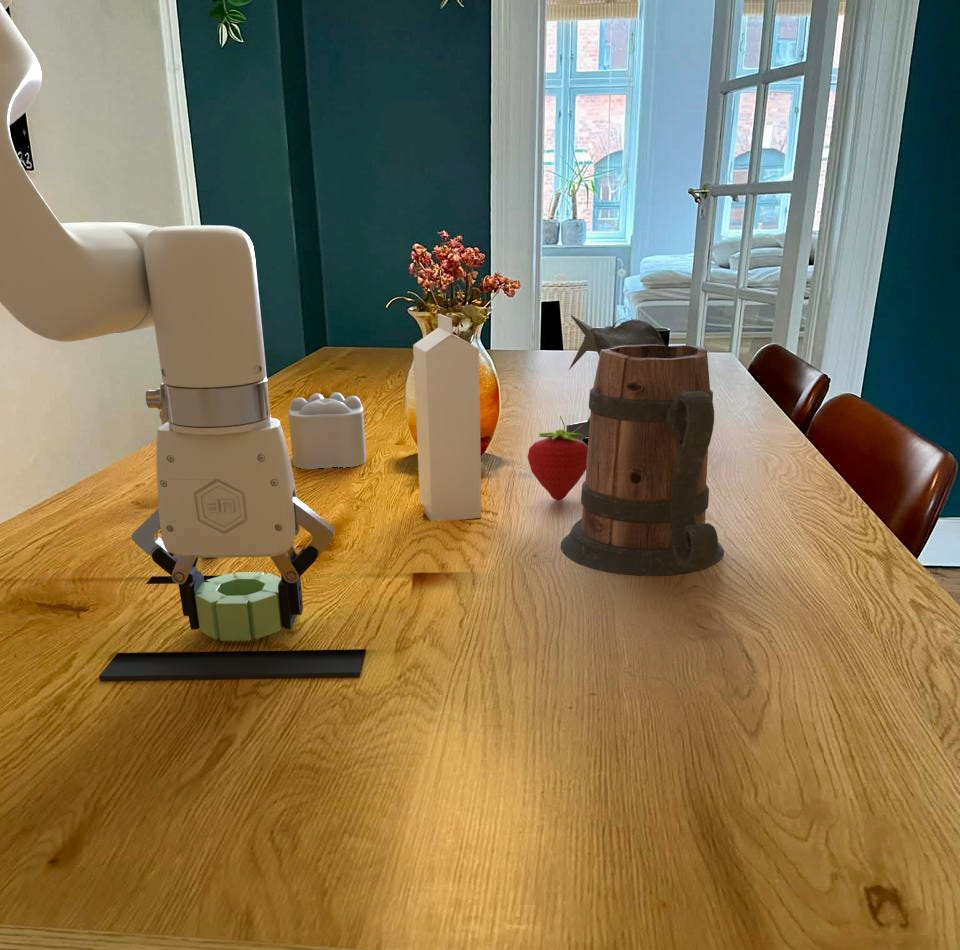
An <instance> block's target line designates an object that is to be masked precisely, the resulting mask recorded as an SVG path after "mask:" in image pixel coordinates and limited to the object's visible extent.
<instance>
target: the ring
mask: <svg viewBox="0 0 960 950" xmlns="http://www.w3.org/2000/svg"><path fill="white" fill-rule="evenodd" d="M221 575H222V576H219V577H215V578H212V579H208V580H206V582H203V583H202V585H201V586H200V587H199V589H198V590H197V592H196V595H195V598H196V606H197V613H198V620H199V627H200V628H199V631H200V632H201V633H203V634H204V635H206V636H209V637H210V638H211V639H213V640H215V641H217V640H220V641H222V642H223V641H229V642H230V641H234V642H235V641H238V642H239V641H251V640H252V638H253V639H254V640H258V639H261V638H263V637H267V636H270V635H273V634H275V633H278V632H281V631H282V629H285V628H284V627H282V620H281V611H280V601H279V592H278V584H279V582H280V580H281V577H279V576H277V575H275V574H273V573H270V572H267V573H265V572H264V571H236V572H235V573H234V574H233V573H231V572H229V573H225V574H221Z"/></svg>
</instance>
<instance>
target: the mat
mask: <svg viewBox="0 0 960 950" xmlns="http://www.w3.org/2000/svg"><path fill="white" fill-rule="evenodd" d="M366 653H367V649H366V648H357V649H355V648H354V649H351V648H350V649H289V650H287V649H286V650H285V649H284V650H279V649H278V650H217V651H216V650H215V651H214V650H211V651H210V650H209V651H151V652H150V651H149V652H148V651H145V652H144V651H143V652H139V651H138V652H117V653H116V654H115V655H114V657H112V658H111V660H110V661H109V663H108V664H107V665H106V667H105V668H104V669H103V670H102V672H101V673H100V674H99V675H98V678H99V682H101V681H103V682H104V681H165V680H166V681H167V680H168V681H169V680H170V681H171V680H172V681H173V680H176V681H177V680H232V679H233V680H238V679H241V680H242V679H243V680H244V679H301V678H302V679H307V678H309V679H311V678H318V679H319V678H360V677H361V674H362V668H363V664H364V661H365V657H366Z"/></svg>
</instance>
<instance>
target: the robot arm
mask: <svg viewBox="0 0 960 950" xmlns="http://www.w3.org/2000/svg"><path fill="white" fill-rule="evenodd" d="M12 2H13V0H0V304H1V305H2V306H3V307H4V308H5V309H6V310H7V311H8V312H9V313H10V315H11V316H12V317H14V319H15V320H17V321H18V322H19V323H20V324H21V325H22V326H24V327H25V328H27V329H28V330H29V331H31V332H32V333H34V334H36V335H38V336H40V337H42V338H45V339H48V340H50V341H51V340H52V341H56V342H63V343H65V342H67V343H68V342H69V343H70V342H77V341H78V342H79V341H83V340H90V339H95V338H98V337H103V336H107V335H112V334H113V335H114V334H122V333H127V332H132V331H137V330H141V329H142V330H143V329H147V328H152V327H154V331H155V332H154V333H155V338H156V339H155V340H156V347H157V353H158V359H159V367H160V373H161V381H162V383H160V385H159V386H160V387H156V389H146V391H145V402H146V407H147V408H149V409H157V410H158V411H162V410H163V413H164V414H165V419H168V422H167V423H165V424H163V425H162V424H161V425H159V426H158V427H157V433H156V453H155V455H156V458H155V459H156V461H155V462H156V484H157V485H156V489H157V503H158V504H157V507H158V508H157V509H156V510H155V511H154V512H153V513H151V514H150V516H148V517H147V518H146V519H145V520H144V522H142V524H140V525H139V526H138V527H136V529H135V530H134V531H133V532H132V534H131V540H132V541H133V543H135V544H136V545H137V546H138V547H139V548H140V549H141V550H142V551H143V552H145V553H146V554H147V555H149V556H150V557H151V559H152V561H153V562H154V564H156V565H157V566H158V567H160V568H161V569H162V570H163V571H164V572H166V573H167V574H169V576H171V577H172V580H173V581H174V582H175V583H176V584H175V585H178V589H179V596H180V604H181V611H182V615H183V617H188V621H189V627H190V630H193V631H194V630H197V631H198V630H200V627H199V620H198V613H197V606H196V598H195V595H196V592H197V590H198V589H199V587H200V586H201V585H202V583H203V582H204V576H205V575H204V573H202V571H201V570H199V568H198V567H197V565H198V563H199V561H200V558H201V559H203V558H215V559H217V558H220V559H221V558H270V559H271V561H272V562H273V564H274V566H275V567H276V569H277V571H279V573H280V576H281V577H280V578H281V580H280V582H279V584H278V592H279V601H280V611H281V620H282V627H284V628H283V629H285V630H292V629H293V627H294V624H295V622H296V619H297V617H298V616H302V614H303V610H304V602H303V601H304V600H303V591H302V580H301V576H302V575H303V574H305V572H306V571H307V570H308V569H310V567H311V566H312V565H313V564H314V563H315V562H316V560H317V559H318V558H319V556H320V555H322V553H323V552H324V551H325V550H326V548H327V547H328V546H329V545H330V544H331V543H332V541H333V539H334V538H335V535H336V533H337V532H336V531H337V530H336V527H334V526H333V524H331V523H329V522H328V521H327V520H325V519H324V518H323V517H322V516H320V515H319V514H318V513H316V511H314V510H313V509H312V508H310V507H309V506H308V505H306V504H305V503H304V502H302V501H301V500H300V499H299V498H298V495H297V489H296V481H295V476H294V472H293V467H292V462H291V458H290V453H289V448H288V444H287V440H286V436H285V433H284V431H283V428H282V424H281V421H280V420H279V419H278V418H275V417H272V414H271V404H270V403H271V402H270V394H269V384H268V376H267V375H268V374H267V366H266V355H265V345H264V334H263V332H264V331H263V324H262V322H263V321H262V314H261V304H260V294H259V283H258V273H257V264H256V255H255V250H254V245H253V242H252V240H251V238H250V236H249V235H248V234H247V233H246V232H245V231H244V230H243V229H241V228H238V227H235V226H231V225H216V224H215V225H214V224H213V225H212V224H198V225H197V224H195V225H194V224H193V225H192V224H191V225H189V224H188V225H169V226H168V225H167V226H162V227H161V226H156V225H150V224H145V223H139V222H130V221H129V222H128V221H107V222H106V221H105V222H104V221H103V222H100V221H77V222H76V221H75V222H60V220H59V219H58V218H57V216H56V215H55V213H54V212H53V211H52V209H51V207H50V206H49V205H48V204H47V202H46V200H45V199H44V198H43V196H42V195H41V193H40V192H39V190H38V189H37V187H36V186H35V184H34V183H33V181H32V179H31V178H30V176H29V174H28V173H27V171H26V170H25V168H24V165H23V164H22V162H21V160H20V158H19V155H18V154H17V151H16V148H15V146H14V143H13V140H12V136H11V130H10V126H11V125H12V124H14V123H15V122H16V121H17V120H18V119H20V118H21V117H22V116H23V115H24V114H25V113H26V112H27V111H28V110H29V109H30V107H32V105H33V103H34V102H35V100H36V98H37V97H38V95H39V93H40V90H41V88H42V81H43V72H42V69H41V64H40V62H39V60H38V58H37V56H36V54H35V52H34V51H33V50H32V48H31V46H30V45H29V43H28V42H27V41H26V39H25V38H24V36H23V35H22V33H21V32H20V31H19V29H18V27H17V26H16V24H15V23H14V21H13V19H12V18H11V17H10V15H9V13H8V12H7V9H8V8H9V6H10V5H11V4H12ZM300 528H303V529H304V530H306V531H307V532H308V533H309V534H310V535H311V539H310V540H309V542H307V544H305V546H303V548H302V549H301V550H299V552H298V551H297V549H296V548H295V546H294V543H295V539H296V536H297V535H298V534H299V532H300ZM159 531H160V533H161V537H160V536H159Z"/></svg>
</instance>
